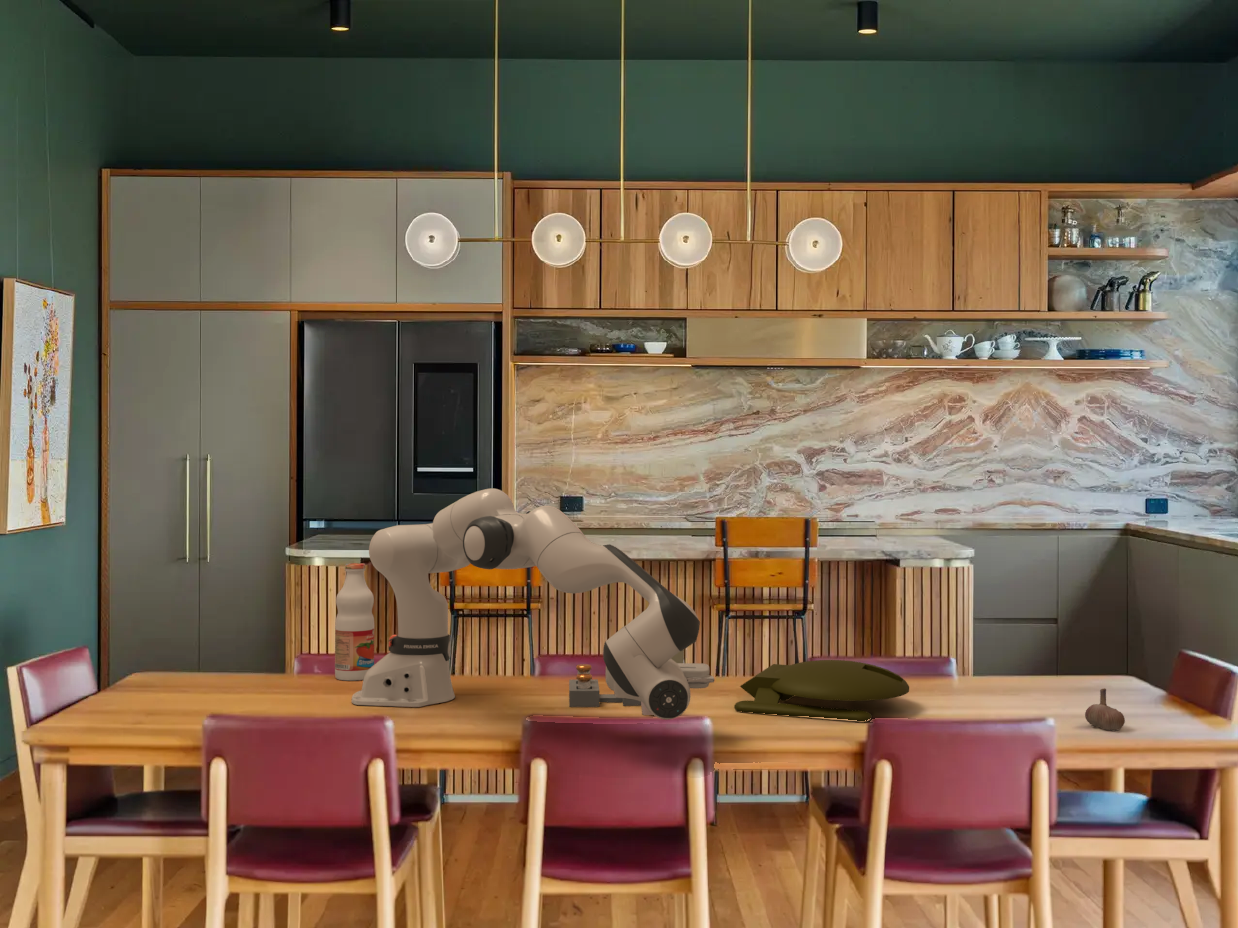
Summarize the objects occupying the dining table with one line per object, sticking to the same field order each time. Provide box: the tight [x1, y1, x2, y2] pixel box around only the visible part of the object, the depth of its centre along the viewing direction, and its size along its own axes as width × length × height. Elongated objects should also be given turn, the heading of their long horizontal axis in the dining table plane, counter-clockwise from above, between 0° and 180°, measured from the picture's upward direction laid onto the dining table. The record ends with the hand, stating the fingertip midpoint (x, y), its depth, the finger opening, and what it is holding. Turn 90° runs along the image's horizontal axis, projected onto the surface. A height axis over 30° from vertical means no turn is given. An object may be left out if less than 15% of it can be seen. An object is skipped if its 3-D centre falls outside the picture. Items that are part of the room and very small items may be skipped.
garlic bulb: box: [1084, 687, 1126, 731], centre depth 220 cm, size 8×7×8 cm
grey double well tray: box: [568, 678, 641, 708], centre depth 245 cm, size 23×13×4 cm, turn 93°
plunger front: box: [576, 673, 593, 689], centre depth 241 cm, size 3×3×6 cm
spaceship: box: [733, 659, 910, 721], centre depth 242 cm, size 35×31×10 cm
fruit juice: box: [334, 562, 375, 682], centre depth 271 cm, size 9×9×28 cm
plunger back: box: [575, 663, 592, 674], centre depth 247 cm, size 3×3×6 cm
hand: (654, 666), depth 219 cm, fingers open, 8 cm apart
